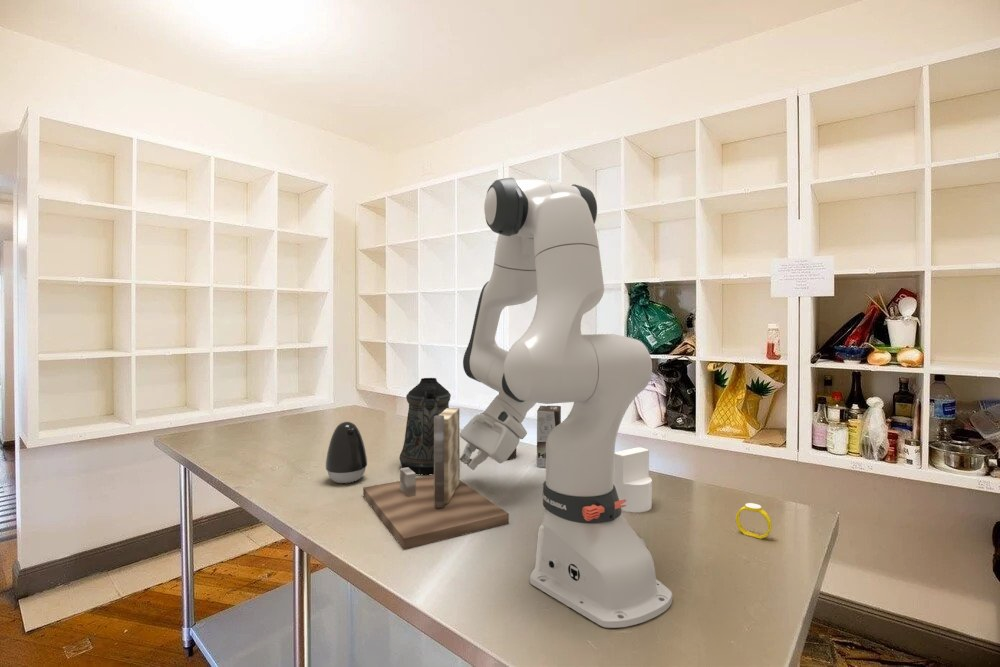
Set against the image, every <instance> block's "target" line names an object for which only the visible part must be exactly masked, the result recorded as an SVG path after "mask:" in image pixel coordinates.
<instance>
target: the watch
mask: <svg viewBox="0 0 1000 667" xmlns="http://www.w3.org/2000/svg"><path fill="white" fill-rule="evenodd" d="M746 510H747V511H749V512H754V513H757V512H759V514H760V515H762V517H764V519H765V521H766V522H767V531H766V532H764V533H763V534H758V533H755V532H751V531H748V530H746V529H745V527H744V526H743V525H742V522H741V520H740V515H741V513H742V512H743V511H746ZM735 523H736V526H737V529H738V530H739V531H740V532H741V534H743V535H744V536H748V537H752V538H756V539H760V540H762V539H765V538H766V537H768V535H769V534H770V532H771V530H772V528H773V526H772V525H773V524H772V518H770V516H769V515H768V513H767V512H766V511H765V510H764V509H763V508H762V506H761V505H760V504H757V503H753V502H748V503H747V502H746V503H745V504H744V506H742V507H741V508H740V509H739V510H738V511H737V513H736V515H735Z"/></svg>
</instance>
